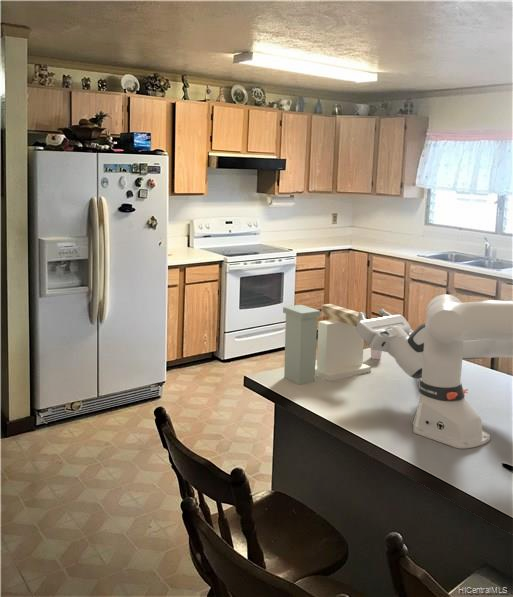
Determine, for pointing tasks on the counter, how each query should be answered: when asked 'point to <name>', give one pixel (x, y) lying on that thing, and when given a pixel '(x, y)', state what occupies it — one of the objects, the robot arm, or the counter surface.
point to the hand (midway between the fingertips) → (370, 311)
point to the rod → (341, 314)
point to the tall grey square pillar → (300, 343)
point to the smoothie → (375, 354)
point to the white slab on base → (339, 351)
